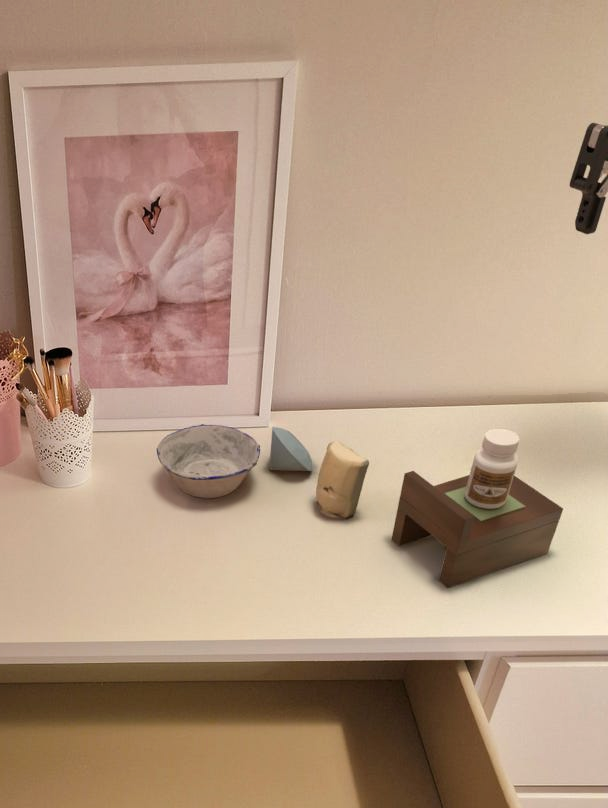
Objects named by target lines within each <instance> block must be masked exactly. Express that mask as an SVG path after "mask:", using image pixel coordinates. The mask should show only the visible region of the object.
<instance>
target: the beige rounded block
mask: <svg viewBox="0 0 608 808" xmlns="http://www.w3.org/2000/svg"><path fill="white" fill-rule="evenodd" d="M369 466H370V461H369V459H368V458H366V457H364V456H362V455H361V454H359V453H358V452H356V451H355V450H353V449H352V448H350V447H349V446H347V445H345V444H344V443H342V442H341V441H332V442H329V443H328V445H327V446H326V451H325V455H324V457H323V460H322V462H321V465H320V469H319V472H318V478H317V484H316V490H315V496H316V501H315V502H316V505H318V507H319V511H320V513H321V514H323V515H324V516H326V517H328V518H335V519H336V518H337V519H340V520H350V519H352V518H353V517H354V516H355V515H356V511H357V508H358V504H359V500H360V497H361V493H362V489H363V486H364V481H365V478H366V474H367V472H368V468H369Z"/></svg>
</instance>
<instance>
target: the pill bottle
mask: <svg viewBox="0 0 608 808" xmlns="http://www.w3.org/2000/svg"><path fill="white" fill-rule="evenodd" d="M481 444H482V445H481V448H480V449H478V450H477V451H476V453H475V454H474V457H473V461H472V465H471V468H470V472H469V475H470V476H469V480H468V484H467V487H466V491H465V497H466V499H467V501H468V502H469V503H471V504H472V505H474V506H476V507H479V508H484V509H495V508H499V507H501V506H503V505H504V504H505V503H506V501H507V497H508V494H509V491H510V488H511V484H512V481H513V477H514V476H515V475H516V470H517V468H518V465H519V458H518V456H517V455H516V453H517V451H518V447H519V445H520V436H519V435H518V434H517V433H516V432H515V431H513V430H510V429H505V428H492V429H489V430H487V431H486V432H485V434H484V436H483V440H482V443H481Z"/></svg>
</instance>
